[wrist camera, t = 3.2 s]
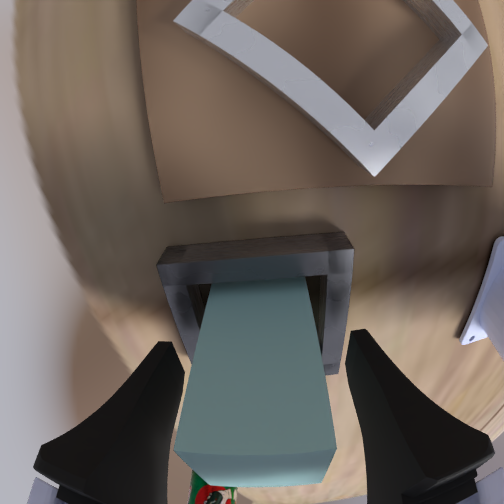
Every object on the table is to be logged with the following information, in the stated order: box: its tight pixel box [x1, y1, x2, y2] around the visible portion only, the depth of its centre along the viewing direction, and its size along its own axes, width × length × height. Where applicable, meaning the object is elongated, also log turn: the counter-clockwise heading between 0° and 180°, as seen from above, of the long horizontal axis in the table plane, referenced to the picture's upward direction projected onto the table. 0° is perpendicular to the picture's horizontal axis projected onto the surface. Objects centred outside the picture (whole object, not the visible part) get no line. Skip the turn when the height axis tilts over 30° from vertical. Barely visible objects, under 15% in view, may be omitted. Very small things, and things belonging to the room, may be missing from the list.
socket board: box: [136, 0, 496, 203], centre depth 6 cm, size 14×12×2 cm
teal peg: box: [174, 276, 337, 487], centre depth 10 cm, size 4×4×8 cm
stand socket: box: [156, 232, 354, 375], centre depth 13 cm, size 8×8×2 cm
